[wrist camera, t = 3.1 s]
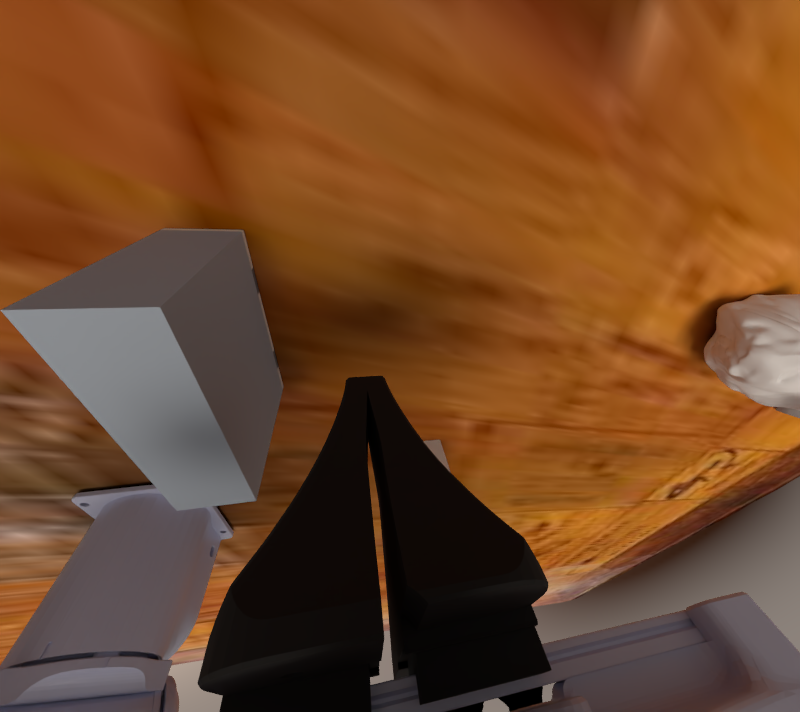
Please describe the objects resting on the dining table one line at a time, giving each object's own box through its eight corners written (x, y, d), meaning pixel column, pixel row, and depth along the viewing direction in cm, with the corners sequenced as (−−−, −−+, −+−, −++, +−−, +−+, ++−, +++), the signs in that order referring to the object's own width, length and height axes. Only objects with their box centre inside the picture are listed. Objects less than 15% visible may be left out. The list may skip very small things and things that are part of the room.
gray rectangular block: (283, 386, 17) (256, 500, 12) (230, 389, 17) (176, 510, 11) (243, 229, 12) (160, 306, 6) (163, 228, 11) (0, 310, 6)
